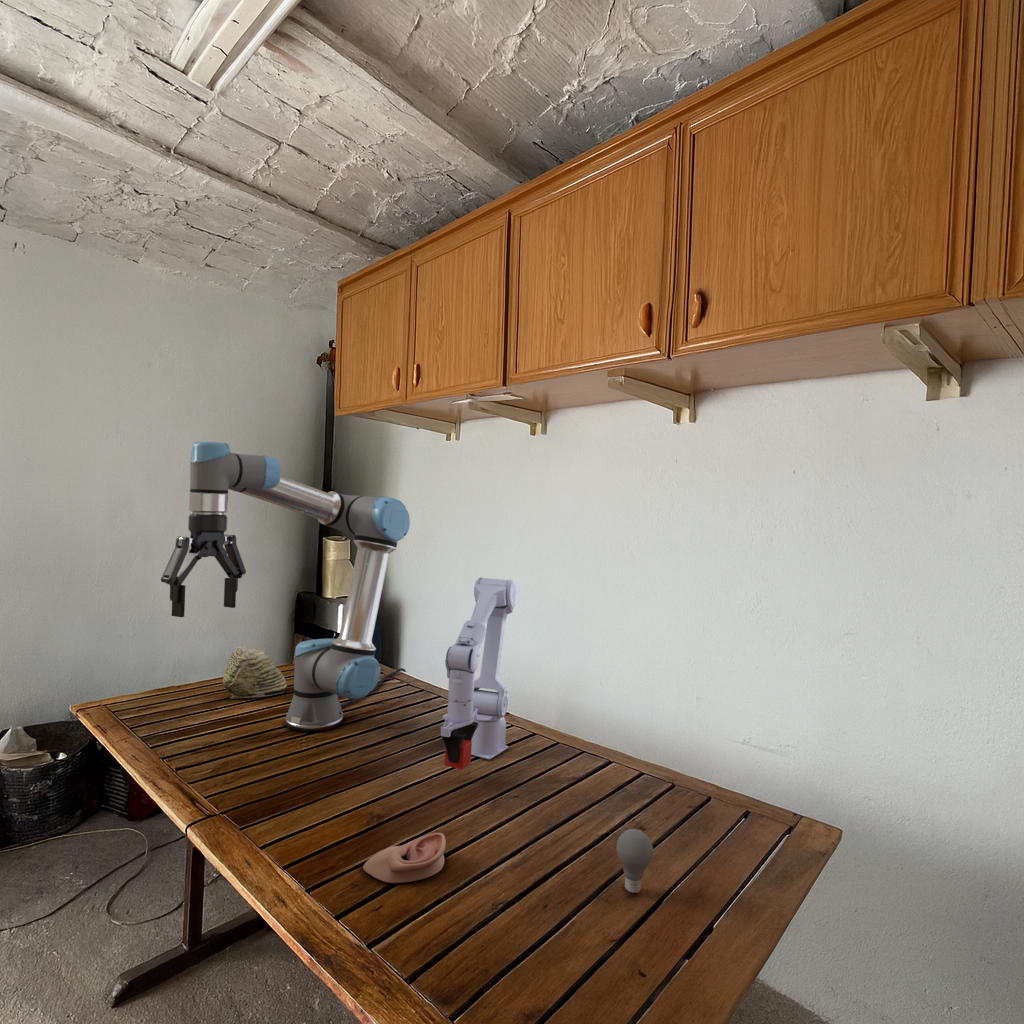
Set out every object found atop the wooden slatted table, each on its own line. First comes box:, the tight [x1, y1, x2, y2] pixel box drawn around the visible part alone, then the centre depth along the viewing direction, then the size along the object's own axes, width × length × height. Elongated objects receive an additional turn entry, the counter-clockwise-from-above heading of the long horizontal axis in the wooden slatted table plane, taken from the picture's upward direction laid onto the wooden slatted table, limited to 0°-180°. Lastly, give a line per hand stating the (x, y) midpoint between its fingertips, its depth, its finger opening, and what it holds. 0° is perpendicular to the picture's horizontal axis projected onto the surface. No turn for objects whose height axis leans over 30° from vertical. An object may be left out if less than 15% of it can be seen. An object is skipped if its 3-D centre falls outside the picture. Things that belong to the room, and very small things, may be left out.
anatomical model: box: [362, 832, 447, 884], centre depth 110 cm, size 13×4×12 cm
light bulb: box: [615, 828, 654, 894], centre depth 106 cm, size 6×6×10 cm
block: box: [443, 740, 472, 770], centre depth 143 cm, size 4×5×5 cm
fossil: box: [222, 646, 288, 699], centre depth 198 cm, size 9×18×15 cm, turn 132°
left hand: (204, 611), depth 137 cm, fingers open, 13 cm apart
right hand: (458, 758), depth 143 cm, fingers closed on block, 4 cm apart
